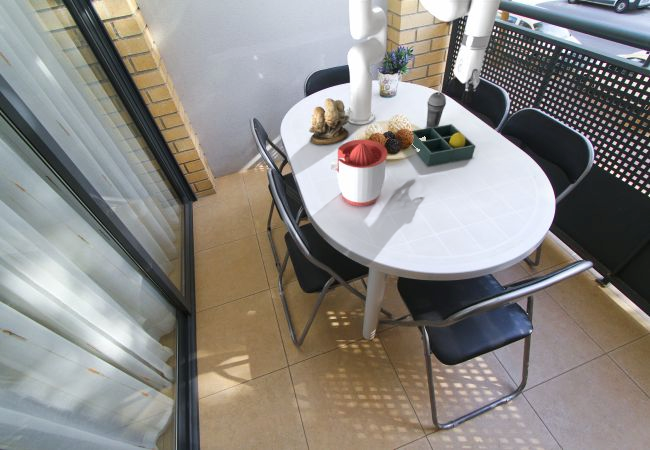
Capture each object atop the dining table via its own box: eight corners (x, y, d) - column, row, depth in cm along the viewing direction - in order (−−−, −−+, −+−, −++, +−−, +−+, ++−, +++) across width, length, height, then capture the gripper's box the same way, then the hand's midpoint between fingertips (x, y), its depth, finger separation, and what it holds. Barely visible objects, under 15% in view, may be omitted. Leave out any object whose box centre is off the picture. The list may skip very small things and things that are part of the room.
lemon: (454, 157, 119) (459, 137, 113) (444, 150, 122) (448, 131, 117) (465, 152, 120) (471, 133, 114) (455, 146, 124) (460, 127, 118)
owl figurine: (342, 126, 143) (341, 88, 131) (355, 137, 135) (355, 98, 123) (306, 136, 138) (301, 98, 126) (317, 149, 131) (313, 109, 119)
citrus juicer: (332, 182, 114) (330, 131, 100) (381, 181, 113) (385, 129, 98) (332, 211, 103) (329, 159, 89) (386, 210, 101) (391, 156, 87)
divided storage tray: (428, 166, 117) (430, 154, 113) (408, 142, 130) (410, 131, 126) (471, 158, 119) (475, 145, 115) (448, 135, 132) (451, 123, 128)
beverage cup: (439, 124, 138) (448, 77, 124) (441, 133, 133) (452, 84, 119) (422, 125, 139) (429, 78, 125) (424, 133, 134) (432, 85, 120)
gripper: (453, 33, 102) (442, 86, 114) (474, 50, 89) (458, 108, 102) (476, 31, 102) (462, 85, 114) (500, 48, 89) (481, 106, 102)
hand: (460, 96), depth 108 cm, fingers open, 9 cm apart
